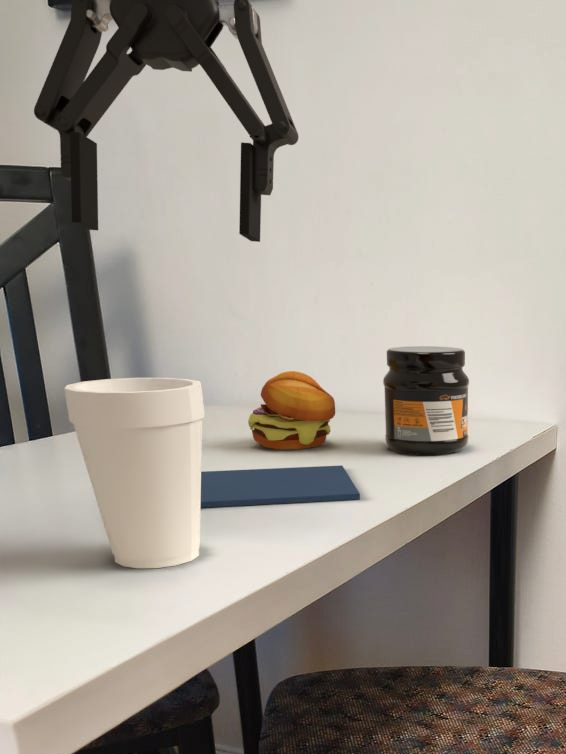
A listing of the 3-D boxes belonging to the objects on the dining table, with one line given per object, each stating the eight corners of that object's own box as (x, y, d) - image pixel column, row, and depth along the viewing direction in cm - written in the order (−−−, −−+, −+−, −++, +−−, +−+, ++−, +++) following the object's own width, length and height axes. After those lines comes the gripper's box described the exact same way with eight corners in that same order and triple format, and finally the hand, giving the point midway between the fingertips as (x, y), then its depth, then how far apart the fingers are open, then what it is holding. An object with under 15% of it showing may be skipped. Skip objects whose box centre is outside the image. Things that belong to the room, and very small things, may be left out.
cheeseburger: (290, 433, 121) (298, 360, 116) (347, 461, 117) (358, 386, 112) (231, 442, 113) (238, 364, 108) (290, 473, 109) (299, 393, 104)
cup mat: (145, 511, 83) (144, 504, 82) (155, 479, 95) (154, 473, 95) (360, 499, 87) (359, 493, 87) (342, 470, 100) (342, 465, 100)
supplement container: (449, 459, 106) (449, 354, 102) (370, 452, 110) (367, 350, 105) (480, 444, 116) (481, 347, 111) (406, 438, 119) (404, 344, 114)
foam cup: (132, 536, 75) (109, 376, 70) (237, 542, 73) (221, 379, 68) (68, 571, 66) (36, 391, 61) (187, 578, 65) (164, 394, 60)
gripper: (-25, -111, 63) (-12, 210, 68) (317, -96, 62) (306, 232, 67) (35, -55, 71) (44, 232, 76) (343, -40, 69) (331, 252, 74)
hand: (167, 232), depth 71 cm, fingers open, 13 cm apart
